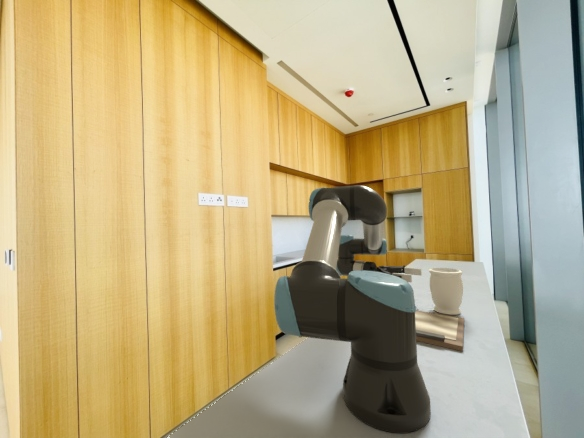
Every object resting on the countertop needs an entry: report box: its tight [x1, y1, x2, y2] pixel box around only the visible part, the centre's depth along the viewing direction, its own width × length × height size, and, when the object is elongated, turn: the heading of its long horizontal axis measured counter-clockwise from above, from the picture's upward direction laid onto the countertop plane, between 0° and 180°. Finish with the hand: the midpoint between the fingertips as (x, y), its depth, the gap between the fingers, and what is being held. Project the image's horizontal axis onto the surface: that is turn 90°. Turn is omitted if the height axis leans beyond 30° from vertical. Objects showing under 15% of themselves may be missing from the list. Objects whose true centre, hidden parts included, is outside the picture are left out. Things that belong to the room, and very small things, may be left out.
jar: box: [428, 267, 464, 316], centre depth 90 cm, size 11×10×15 cm
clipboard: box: [415, 309, 465, 352], centre depth 76 cm, size 22×16×2 cm
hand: (416, 275), depth 97 cm, fingers open, 13 cm apart
